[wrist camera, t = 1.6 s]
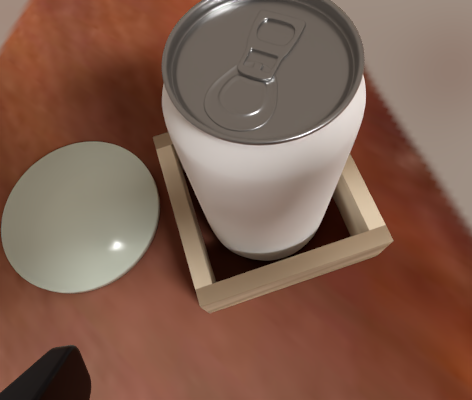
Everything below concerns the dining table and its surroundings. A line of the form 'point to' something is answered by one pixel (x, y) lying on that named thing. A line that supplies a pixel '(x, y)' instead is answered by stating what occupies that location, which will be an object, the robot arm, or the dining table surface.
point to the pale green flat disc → (80, 217)
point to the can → (263, 115)
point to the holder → (285, 271)
